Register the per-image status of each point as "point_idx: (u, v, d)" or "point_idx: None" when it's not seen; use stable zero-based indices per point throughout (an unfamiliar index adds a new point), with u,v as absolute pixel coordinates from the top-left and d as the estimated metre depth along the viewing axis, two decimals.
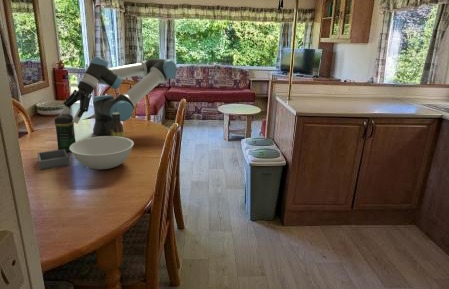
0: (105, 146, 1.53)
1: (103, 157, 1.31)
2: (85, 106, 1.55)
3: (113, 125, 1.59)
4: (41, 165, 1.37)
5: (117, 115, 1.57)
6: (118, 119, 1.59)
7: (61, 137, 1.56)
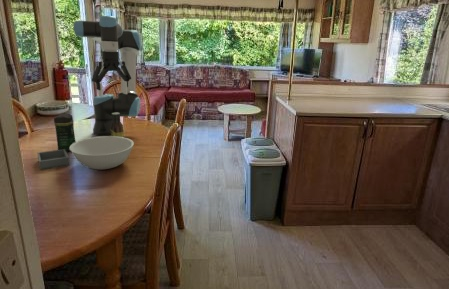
0: (105, 146, 1.53)
1: (103, 157, 1.31)
2: None
3: (113, 125, 1.59)
4: (41, 165, 1.37)
5: (117, 115, 1.57)
6: (118, 119, 1.59)
7: (61, 136, 1.56)
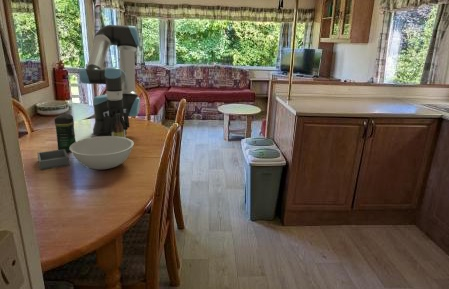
0: (105, 146, 1.53)
1: (103, 157, 1.31)
2: None
3: (113, 125, 1.59)
4: (41, 165, 1.37)
5: (117, 115, 1.58)
6: (118, 119, 1.59)
7: (61, 137, 1.56)
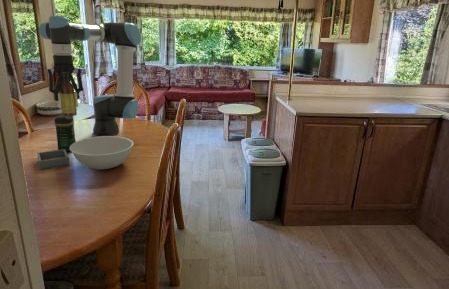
0: (105, 146, 1.53)
1: (103, 157, 1.31)
2: None
3: (60, 85, 1.38)
4: (41, 165, 1.37)
5: (64, 73, 1.36)
6: (66, 78, 1.37)
7: (61, 137, 1.56)
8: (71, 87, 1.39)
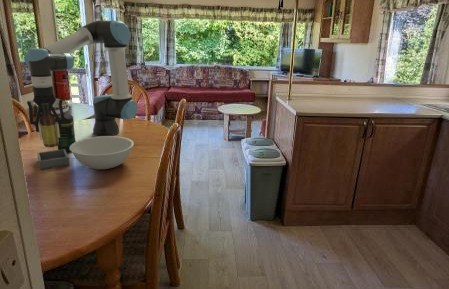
0: (105, 146, 1.53)
1: (103, 157, 1.31)
2: None
3: (41, 117, 1.36)
4: (41, 165, 1.37)
5: (44, 105, 1.34)
6: (46, 110, 1.35)
7: (61, 137, 1.56)
8: (51, 118, 1.37)
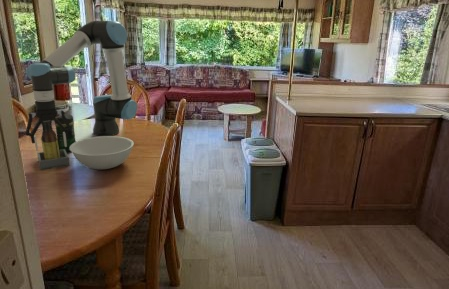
0: (105, 146, 1.53)
1: (103, 157, 1.31)
2: None
3: (42, 133, 1.38)
4: (41, 165, 1.37)
5: (45, 123, 1.36)
6: (47, 127, 1.37)
7: (61, 137, 1.56)
8: (53, 135, 1.39)
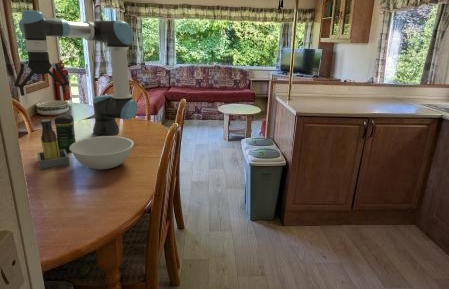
0: (105, 146, 1.53)
1: (103, 157, 1.31)
2: (66, 79, 1.37)
3: (42, 134, 1.38)
4: (41, 165, 1.37)
5: (45, 123, 1.36)
6: (47, 127, 1.37)
7: (61, 137, 1.56)
8: (53, 135, 1.39)
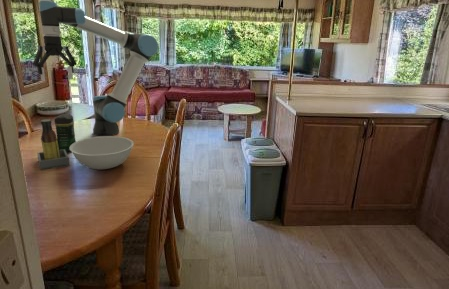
0: (105, 146, 1.53)
1: (103, 157, 1.31)
2: None
3: (42, 134, 1.38)
4: (41, 165, 1.37)
5: (45, 123, 1.36)
6: (47, 127, 1.37)
7: (61, 137, 1.56)
8: (53, 135, 1.39)
